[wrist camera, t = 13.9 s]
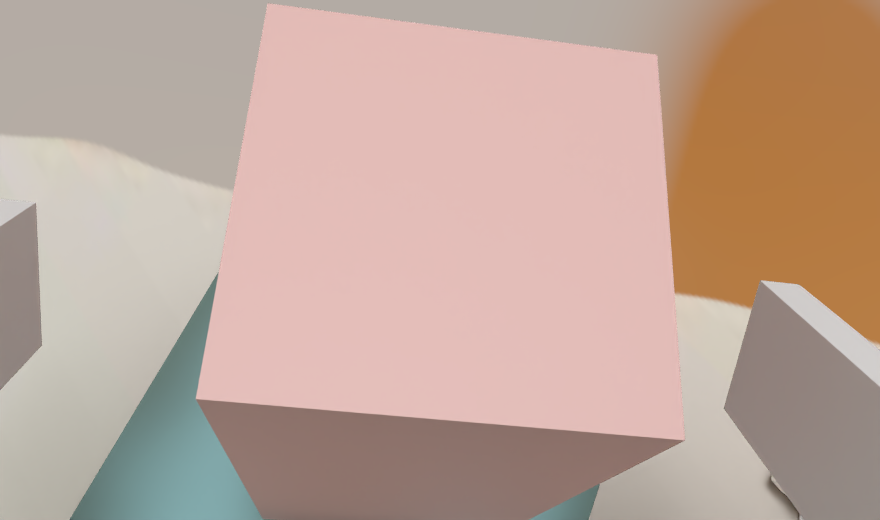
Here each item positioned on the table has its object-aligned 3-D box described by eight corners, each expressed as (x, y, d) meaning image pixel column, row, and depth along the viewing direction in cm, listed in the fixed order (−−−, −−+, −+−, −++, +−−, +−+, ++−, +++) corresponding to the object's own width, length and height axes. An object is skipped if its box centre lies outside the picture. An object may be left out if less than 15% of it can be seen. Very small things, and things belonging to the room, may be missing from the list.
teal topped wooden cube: (551, 408, 35) (654, 311, 24) (446, 700, 30) (517, 743, 19) (299, 296, 36) (290, 152, 25) (154, 564, 31) (63, 531, 20)
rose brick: (502, 318, 23) (657, 55, 13) (497, 535, 21) (684, 439, 10) (293, 297, 23) (267, 3, 12) (262, 519, 20) (196, 399, 10)
